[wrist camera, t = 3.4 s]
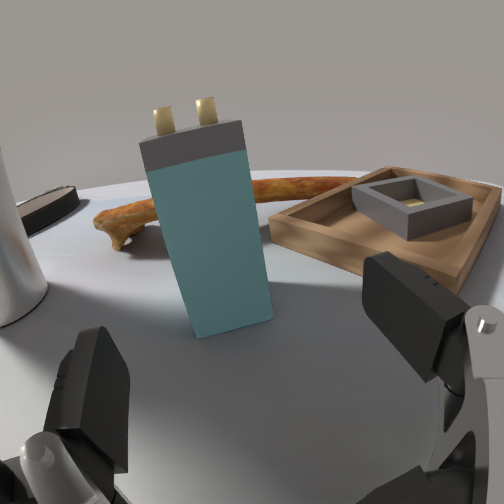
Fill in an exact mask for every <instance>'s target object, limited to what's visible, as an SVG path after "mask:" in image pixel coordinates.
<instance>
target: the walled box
mask: <svg viewBox="0 0 504 504" xmlns="http://www.w3.org/2000/svg"><path fill="white" fill-rule="evenodd" d="M411 175H418V176H420V177H423V178H426V179H429V180H432V181H434V182H437V183H440V184H442V185H445V186H447V187H450V188H452V189H455V190H457V191H460V192H462V193H465V194H467V195H470V196H472V197H473V208H472V217H471V221H468V222H465V223H462V224H459V225H456V226H453V227H450V228H447V229H444V230H441V231H438V232H434V233H431V234H428V235H425V236H422V237H419V238H416V239H413V240H410V241H406V240H404V239H402V238H401V237H399V236H398V235H396V234H395V233H393V232H391V231H390V230H388V229H387V228H385V227H383V226H382V225H380V224H378V223H377V222H375V221H374V220H372V219H370V218H369V217H367V216H365V215H364V214H362V213H360V212H358V211H357V210H355V209H353V206H352V186H355V185H361V184H366V183H371V182H377V181H382V180H388V179H393V178H399V177H405V176H411ZM501 193H502V188H498V187H494V186H490V185H486V184H482V183H478V182H473V181H469V180H464V179H459V178H455V177H449V176H445V175H439V174H434V173H428V172H423V171H417V170H411V169H405V168H398V167H392V166H386V167H384V168H381V169H379V170H377V171H374V172H372V173H369V174H367V175H365V176H362V177H360V178H357V179H355V180H353V181H350V182H348V183H346V184H343V185H341V186H339V187H336V188H334V189H332V190H329V191H327V192H325V193H323V194H320V195H318V196H316V197H313V198H311V199H309V200H307V201H304V202H302V203H300V204H297V205H295V206H293V207H291V208H288V209H286V210H284V211H282V212H279V213H277V214H275V215H273V216H270V217H268V220H269V227H270V234H271V241H272V242H273V243H275V244H278V245H281V246H283V247H286V248H289V249H291V250H294V251H297V252H299V253H302V254H305V255H307V256H310V257H313V258H315V259H318V260H321V261H323V262H326V263H329V264H331V265H334V266H337V267H339V268H342V269H345V270H347V271H350V272H352V273H355V274H358V275H360V276H363V263H364V260H365V258H366V257H369V256H372V255H376V254H379V253H382V252H385V251H388V252H390V253H392V254H393V255H395V256H396V257H397V258H399V259H400V260H401V261H403V262H407V263H410V264H412V265H415V266H417V267H419V268H421V269H422V270H423V271H425V272H426V273H427V274H429V275H430V277H433V278H434V279H435V280H437V281H438V282H439V284H442V285H443V286H444V287H446V288H447V289H448V290H450V291H451V292H452V293H453V294H455V295H456V296H457V295H458V293H459V292H460V290H461V288H462V286H463V284H464V283H465V281H466V279H467V277H468V275H469V273H470V271H471V270H472V268H473V266H474V264H475V262H476V260H477V258H478V256H479V254H480V252H481V250H482V248H483V245H484V243H485V241H486V239H487V237H488V235H489V232H490V230H491V228H492V225H493V223H494V221H495V218H496V216H497V214H498V211H499V209H500V202H501Z"/></svg>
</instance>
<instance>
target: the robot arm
mask: <svg viewBox="0 0 504 504" xmlns="http://www.w3.org/2000/svg"><path fill="white" fill-rule="evenodd" d="M47 289H48V284H47V281H46V279H45V277H44V275H43V273H42V271H41V268H40V266H39V264H38V261H37V259H36V257H35V254H34V252H33V249H32V247H31V244H30V242H29V239H28V237H27V234H26V231H25V229H24V226H23V223H22V221H21V218H20V215H19V212H18V209H17V206H16V203H15V200H14V197H13V194H12V190H11V187H10V183H9V180H8V176H7V172H6V169H5V165H4V161H3V158H2V154H1V149H0V327H1V326H4V325H7V324H10V323H12V322H14V321H16V320H17V319H19V318H21V317H22V316H24V315H25V314H26V313H28V312H29V311H30V310H32V309H33V308H34V307H35V306H36V305H37V304H38V303H39V302H40V301H41V300H42V298H43V297H44V296H45V294H46V292H47ZM362 303H363V307H364V310H365V312H366V314H367V316H368V317H369V318H370V319H371V320H372V321H373V322H374V324H375V325H376V326H377V327H378V328H379V329H380V330H381V332H382V333H383V334H384V335H385V336H386V337H387V338H388V340H389V341H390V342H391V343H392V344H393V345H394V346H395V348H396V349H397V350H398V351H399V352H400V353H401V355H402V356H403V357H404V358H405V359H406V360H407V362H408V363H409V364H410V365H411V366H412V368H413V369H414V370H415V371H416V372H417V373H418V375H419V376H420V377H421V378H422V379H423V381H424V382H425V383H426V382H428V381H430V380H432V379H433V378H435V377H437V376H439V377H440V378H441V379H442V381H441V383H440V396H439V424H438V438H437V443H436V446H435V449H434V451H433V454H432V457H431V461H430V466H429V471H428V472H423V470H422V468H421V467H420V465H418V466H417V467H415V468H413V469H412V470H410V471H408V472H406V473H405V474H403V475H401V476H399V477H397V478H395V479H394V480H392V481H390V482H388V483H386V484H384V485H382V486H380V487H378V488H376V489H375V490H373V491H372V492H371V493H369V494H368V495H367V496H366V497H364V498H363V499H362V500H360V501H359V502H358V503H356V504H504V314H503V313H502V312H501V311H500V310H498V309H496V308H494V307H491V306H487V305H478V306H474V307H472V308H471V307H470V306H468V305H467V304H466V303H465V302H463V301H462V300H461V299H460V298H458V297H457V296H456V295H455V294H453V293H452V292H451V291H450V290H448V289H447V288H446V287H444V286H443V285H442V284H439V282H438V281H437V280H435V279H434V278H433V277H430V275H429V274H427V273H426V272H425V271H423V270H422V269H421V268H419V267H417V266H415V265H412V264H410V263H407V262H403V261H401V260H400V259H399V258H397V257H396V256H395V255H393V254H392V253H390V252H388V251H385V252H382V253H379V254H376V255H372V256H369V257H366V258H365V260H364V263H363V288H362ZM129 391H130V376H129V371H128V368H127V365H126V363H125V361H124V359H123V358H122V356H121V354H120V352H119V351H118V349H117V347H116V345H115V344H114V342H113V340H112V338H111V336H110V334H109V332H108V331H107V329H106V328H105V327H103V326H101V327H97V328H92V329H87V330H83V331H80V332H79V334H78V337H77V340H76V344H75V347H74V349H73V350H70V351H69V352H68V354H67V355H66V356H65V358H64V359H63V361H62V362H61V364H60V367H59V370H58V374H57V379H56V381H55V384H54V390H53V392H52V395H51V399H50V403H49V407H48V411H47V415H46V420H45V424H44V429H43V432H40V433H37V434H35V435H33V436H32V437H30V438H29V439H28V440H27V441H26V443H25V444H24V446H23V448H22V450H21V454H20V456H18V457H15V458H11V459H8V460H5V461H1V460H0V504H132V503H131V502H130V501H129V500H128V498H127V497H126V496H125V495H124V494H123V493H122V492H121V490H120V489H119V488H118V487H117V486H116V485H115V484H114V474H120V473H128V412H129Z"/></svg>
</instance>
